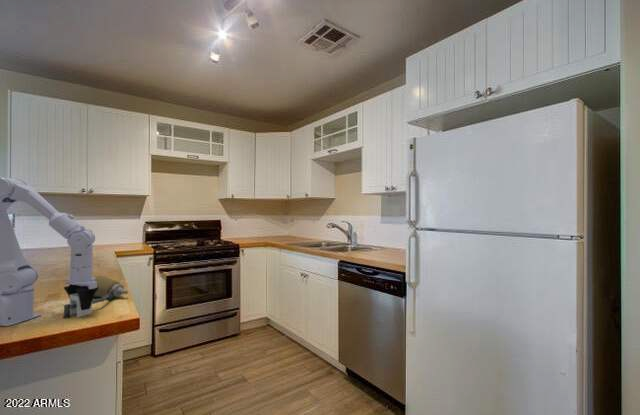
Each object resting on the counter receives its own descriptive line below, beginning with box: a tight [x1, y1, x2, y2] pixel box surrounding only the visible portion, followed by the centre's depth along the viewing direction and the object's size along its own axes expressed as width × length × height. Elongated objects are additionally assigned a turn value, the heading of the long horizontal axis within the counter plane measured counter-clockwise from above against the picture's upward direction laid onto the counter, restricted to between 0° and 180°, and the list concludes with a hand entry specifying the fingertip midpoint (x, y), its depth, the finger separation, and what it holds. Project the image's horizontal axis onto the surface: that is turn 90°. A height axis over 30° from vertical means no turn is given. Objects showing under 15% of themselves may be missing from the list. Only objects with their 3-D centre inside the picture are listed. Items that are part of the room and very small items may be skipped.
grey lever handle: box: [62, 289, 114, 319], centre depth 106 cm, size 20×6×4 cm, turn 171°
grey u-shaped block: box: [69, 293, 93, 318], centre depth 100 cm, size 4×5×6 cm
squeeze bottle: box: [92, 275, 129, 299], centre depth 119 cm, size 8×8×18 cm
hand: (80, 308), depth 100 cm, fingers closed on grey u-shaped block, 5 cm apart
